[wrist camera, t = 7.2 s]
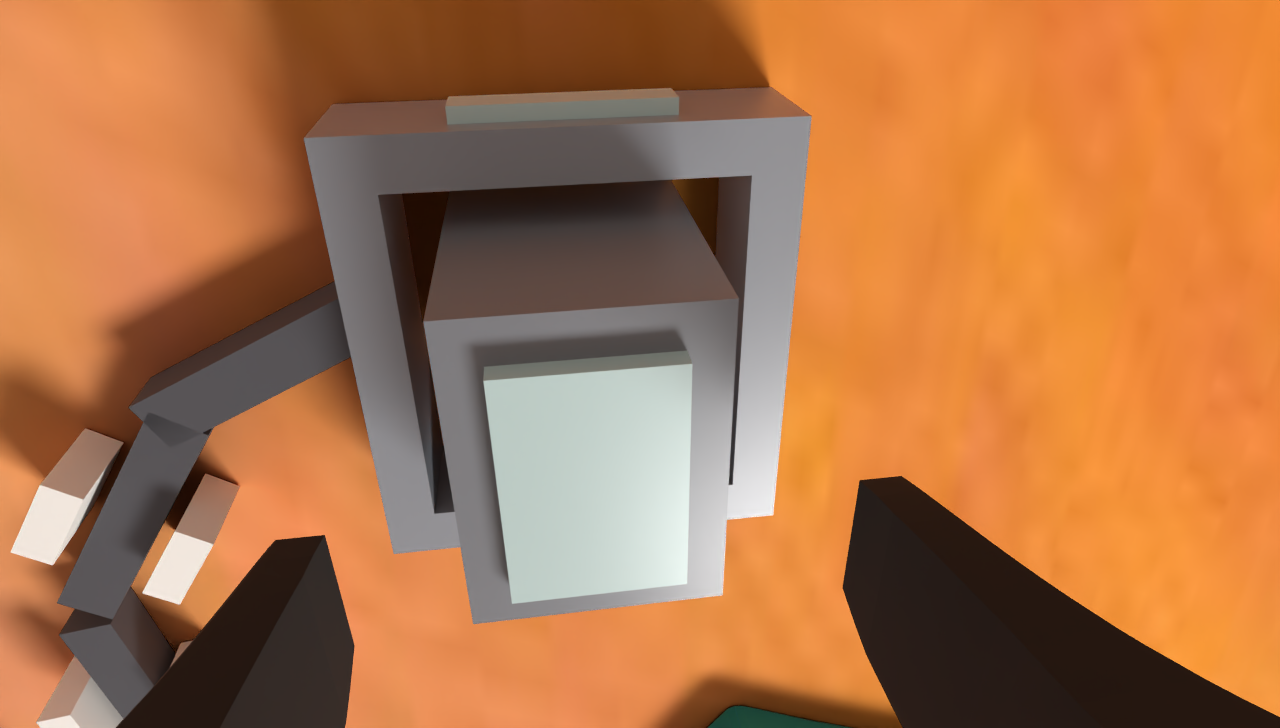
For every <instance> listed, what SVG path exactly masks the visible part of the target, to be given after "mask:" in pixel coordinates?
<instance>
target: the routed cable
mask: <svg viewBox="0 0 1280 728" xmlns="http://www.w3.org/2000/svg"><path fill="white" fill-rule="evenodd" d="M350 357H351V354H350V350H349V345H348V340H347V336H346V331H345V327H344V322H343V317H342V313H341V308H340V304H339V299H338V294H337V290H336V285H335V281H334V282H332V283H330V284H328V285H327V286H325V287H323V288H321V289H319V290H317V291H315V292H313V293H311V294H309V295H307V296H306V297H304V298H302V299H300V300H298V301H296V302H294V303H292V304H290V305H288V306H286V307H285V308H283V309H281V310H279V311H277V312H275V313H273V314H271V315H269V316H267V317H265V318H264V319H262V320H260V321H258V322H256V323H254V324H252V325H250V326H248V327H246V328H244V329H242V330H241V331H239V332H237V333H235V334H233V335H231V336H229V337H227V338H225V339H223V340H221V341H220V342H218V343H216V344H214V345H212V346H210V347H208V348H206V349H204V350H202V351H200V352H199V353H197V354H195V355H193V356H191V357H189V358H187V359H185V360H183V361H181V362H179V363H178V364H176V365H174V366H172V367H170V368H168V369H166V370H164V371H162V372H160V373H158V374H157V375H155V376H153V377H151V378H150V379H149V381H148V382H147V383H146V385H145V386H144V387H143V389H142V390H141V391H140V393H139V394H138V395H137V397H136V398H135V399H134V401H133V402H132V403H131V405H130V406H129V409H130V410H131V411H132V412H133V413H134V414H135V415H137V416H138V417H139V418H140V419H141V420H142V421H143V424H142V426H141V429H140V431H139V433H138V435H137V437H136V439H135V441H134V443H133V445H132V447H131V449H130V452H129V454H128V456H127V458H126V460H125V462H124V464H123V466H122V468H121V470H120V472H119V474H118V477H117V479H116V481H115V483H114V485H113V487H112V489H111V491H110V493H109V495H108V497H107V500H106V502H105V504H104V506H103V508H102V510H101V512H100V514H99V516H98V518H97V520H96V523H95V525H94V527H93V529H92V531H91V533H90V535H89V537H88V539H87V541H86V543H85V545H84V548H83V550H82V552H81V554H80V556H79V558H78V560H77V562H76V564H75V566H74V568H73V571H72V573H71V575H70V577H69V579H68V581H67V583H66V585H65V587H64V589H63V591H62V593H61V596H60V598H59V600H58V602H57V603H58V604H61V605H65V606H68V607H71V608H75V609H74V611H73V613H72V614H71V616H70V618H69V619H68V621H67V623H66V624H65V626H64V628H63V629H62V631H61V632H60V634H59V636H60V637H61V638H62V640H63V641H64V642H65V644H66V645H67V646H68V647H69V649H70V650H71V651H72V653H73V654H74V657H73V659H72V661H71V662H70V664H69V666H68V668H67V669H66V671H65V673H64V675H63V676H62V678H61V680H60V682H59V683H58V685H57V687H56V689H55V690H54V692H53V694H52V696H51V697H50V699H49V701H48V703H47V704H46V706H45V708H44V710H43V711H42V713H41V715H40V717H39V718H38V720H37V722H36V723H37V724H38V725H39V726H40V728H116V727H117V726H118V724H119V723H120V722H121V721H122V720H123V719H124V718H125V717H126V716H127V715H128V714H129V713H130V712H131V710H132V709H133V708H134V707H135V706H136V705H137V704H138V703H139V702H140V701H141V700H142V699H143V697H144V696H145V695H146V694H147V693H148V692H149V691H150V690H151V689H152V688H153V686H154V685H155V684H156V683H157V682H158V681H159V680H160V678H161V677H162V676H163V675H164V674H165V673H166V671H167V670H168V669H169V668H170V667H171V666H172V664H173V663H174V662H175V661H176V660H177V658H178V657H179V656H180V655H181V654H182V653H183V651H184V650H185V649H186V648H187V647H188V646H189V644H190V643H191V642H192V641H193V640H192V641H188V642H183V643H180V646H179V648H178V650H177V653H176V654H175V652H174V651H173V649H172V648H171V646H170V645H169V643H168V642H167V640H166V639H165V638H164V636H163V635H162V633H161V632H160V630H159V629H158V627H157V626H156V624H155V623H154V621H153V620H152V618H151V617H150V615H149V614H148V612H147V611H146V609H145V608H144V606H143V605H142V603H141V602H140V600H139V599H138V597H137V596H136V594H135V593H134V591H133V590H132V588H131V585H132V583H133V581H134V579H135V577H136V575H137V573H138V572H139V570H140V568H141V566H142V564H143V562H144V560H145V558H146V556H147V554H148V552H149V550H150V549H151V547H152V545H153V543H154V541H155V539H156V537H157V535H158V533H159V531H160V529H161V527H162V526H163V524H164V522H165V520H166V518H167V516H168V514H169V512H170V510H171V508H172V506H173V504H174V503H175V501H176V499H177V497H178V495H179V493H180V491H181V489H182V487H183V485H184V483H185V481H186V480H187V478H188V476H189V474H190V472H191V470H192V468H193V466H194V464H195V462H196V460H197V458H198V457H199V455H200V453H201V451H202V449H203V447H204V445H205V443H206V441H207V439H208V437H209V435H210V434H211V432H212V430H213V428H214V427H215V426H217V425H219V424H221V423H223V422H225V421H227V420H229V419H231V418H233V417H234V416H236V415H238V414H240V413H242V412H244V411H246V410H248V409H250V408H252V407H254V406H256V405H258V404H260V403H262V402H264V401H266V400H268V399H270V398H272V397H274V396H276V395H278V394H280V393H281V392H283V391H285V390H287V389H289V388H291V387H293V386H295V385H297V384H299V383H301V382H303V381H305V380H307V379H309V378H311V377H313V376H315V375H317V374H319V373H321V372H323V371H325V370H327V369H329V368H330V367H332V366H334V365H336V364H338V363H340V362H342V361H344V360H346V359H348V358H350ZM123 443H124V442H121V441H118V440H116V439H113V438H110V437H108V436H105V435H102V434H99V433H97V432H94V431H91V430H89V429H86V428H85V429H84V430H83V431H82V433H81V434H80V435H79V436H78V438H77V439H76V440H75V441H74V443H73V444H72V445H71V447H70V448H69V449H68V450H67V452H66V453H65V454H64V455H63V457H62V458H61V459H60V460H59V462H58V463H57V464H56V465H55V467H54V468H53V469H52V470H51V472H50V473H49V474H48V475H47V477H46V478H45V479H44V480H43V482H42V483H41V484H40V486H39V488H38V490H37V493H36V495H35V497H34V500H33V502H32V504H31V507H30V509H29V511H28V513H27V516H26V518H25V520H24V523H23V525H22V527H21V530H20V532H19V534H18V537H17V539H16V541H15V543H14V546H13V548H12V550H11V553H14V554H17V555H21V556H24V557H27V558H30V559H34V560H37V561H40V562H43V563H47V564H50V565H53V564H54V563H55V561H56V560H57V558H58V557H59V556H60V554H61V553H62V551H63V550H64V548H65V547H66V545H67V544H68V542H69V541H70V539H71V538H72V536H73V535H74V534H75V532H76V531H77V529H78V528H79V526H80V525H81V523H82V522H83V520H84V519H85V517H86V516H87V514H88V513H89V512H90V510H91V509H92V507H93V506H94V504H95V502H96V500H97V498H98V496H99V494H100V491H101V489H102V487H103V485H104V483H105V481H106V479H107V477H108V475H109V472H110V470H111V468H112V466H113V464H114V462H115V460H116V458H117V456H118V453H119V451H120V449H121V447H122V445H123ZM239 487H240V486H238V485H235V484H233V483H230V482H227V481H225V480H222V479H219V478H216V477H214V476H211V475H208V474H206V473H205V475H204V477H203V479H202V481H201V483H200V485H199V487H198V488H197V490H196V492H195V494H194V496H193V498H192V500H191V502H190V503H189V505H188V507H187V509H186V511H185V513H184V515H183V517H182V518H181V520H180V522H179V524H178V526H177V528H176V530H175V532H174V534H173V535H172V537H171V539H170V541H169V543H168V545H167V547H166V549H165V551H164V553H163V554H162V556H161V558H160V560H159V562H158V564H157V566H156V568H155V570H154V572H153V573H152V575H151V577H150V579H149V581H148V583H147V585H146V587H145V589H144V591H143V592H142V593H143V594H146V595H149V596H153V597H156V598H159V599H162V600H166V601H169V602H172V603H175V604H179V605H180V603H181V602H182V600H183V598H184V596H185V595H186V593H187V591H188V589H189V587H190V586H191V584H192V582H193V580H194V578H195V577H196V575H197V573H198V571H199V570H200V568H201V566H202V564H203V562H204V561H205V559H206V557H207V555H208V553H209V552H210V550H211V548H212V546H213V545H214V542H215V540H216V538H217V536H218V534H219V531H220V529H221V527H222V525H223V523H224V520H225V518H226V516H227V514H228V512H229V509H230V507H231V505H232V503H233V501H234V498H235V496H236V494H237V492H238V490H239Z"/></svg>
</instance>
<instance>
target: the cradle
mask: <svg viewBox="0 0 1280 728" xmlns="http://www.w3.org/2000/svg"><path fill="white" fill-rule="evenodd" d="M810 127H811V115H809V114H808V113H807V112H805V111H804V110H802V109H801V108H800V107H798V106H797V105H796V104H794V103H793V102H791V101H790V100H789V99H787V98H786V97H784V96H783V95H782V94H780V93H779V92H778V91H776V90H775V89H773V88H772V87H759V88H733V89H707V90H682V91H673V89H672V88H655V89H628V90H602V91H576V92H550V93H524V94H497V95H471V96H448V99H447V100H423V101H397V102H371V103H345V104H332V105H331V106H330V108H329V109H328V110H327V111H326V112H325V113H324V115H323V116H322V117H321V118H320V119H319V120H318V122H317V123H316V124H315V125H314V126H313V127H312V129H311V130H310V131H309V132H308V133H307V135H306V136H305V137H304V142H305V147H306V151H307V156H308V161H309V165H310V170H311V174H312V179H313V184H314V188H315V193H316V198H317V202H318V207H319V211H320V216H321V221H322V225H323V230H324V234H325V239H326V244H327V248H328V253H329V257H330V262H331V267H332V271H333V276H334V280H335V285H336V290H337V294H338V299H339V304H340V308H341V313H342V317H343V322H344V327H345V331H346V336H347V340H348V345H349V350H350V354H351V359H352V363H353V368H354V373H355V377H356V382H357V386H358V391H359V396H360V400H361V405H362V410H363V414H364V419H365V423H366V428H367V433H368V437H369V442H370V446H371V451H372V456H373V460H374V465H375V469H376V474H377V479H378V483H379V488H380V493H381V497H382V502H383V506H384V511H385V516H386V520H387V525H388V529H389V534H390V539H391V543H392V548H393V552H394V554H398V553H407V552H417V551H427V550H437V549H446V548H456V547H460V541H459V535H458V529H457V523H456V517H455V511H454V504H453V498H452V492H451V486H450V480H449V474H448V468H447V462H446V456H445V450H444V445H442V439H441V432H440V426H439V420H438V414H437V408H436V401H435V395H434V389H433V383H432V377H431V370H430V364H429V358H428V352H427V346H426V340H425V333H424V327H423V321H422V315H421V309H420V302H419V296H418V290H417V284H416V278H415V271H414V265H413V259H412V253H411V247H410V241H409V234H408V228H407V222H406V216H405V210H404V203H403V197H402V193H422V192H441V191H460V190H480V189H499V188H518V187H538V186H557V185H576V184H596V183H615V182H634V181H654V180H673V179H693V178H712V177H719V186H718V210H717V234H716V259H717V261H718V263H719V265H720V266H721V268H722V270H723V272H724V273H725V275H726V277H727V279H728V280H729V282H730V284H731V286H732V287H733V289H734V291H735V293H736V294H737V296H738V298H739V306H738V324H737V342H736V360H735V379H734V397H733V415H732V433H731V451H730V469H729V488H728V506H727V520H729V519H739V518H749V517H758V516H768V515H773V510H774V500H775V490H776V479H777V469H778V458H779V448H780V438H781V427H782V417H783V407H784V396H785V386H786V376H787V365H788V355H789V344H790V334H791V324H792V313H793V303H794V293H795V282H796V272H797V262H798V251H799V241H800V230H801V220H802V210H803V199H804V189H805V179H806V168H807V158H808V147H809V137H810Z"/></svg>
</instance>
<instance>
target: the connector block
mask: <svg viewBox="0 0 1280 728" xmlns="http://www.w3.org/2000/svg"><path fill="white" fill-rule="evenodd" d="M738 306H739V298H738V296H737V294H736V293H735V291H734V289H733V287H732V286H731V284H730V282H729V280H728V279H727V277H726V275H725V273H724V272H723V270H722V268H721V266H720V265H719V263H718V261H717V259H716V258H715V256H714V254H713V252H712V251H711V249H710V247H709V245H708V244H707V242H706V240H705V238H704V237H703V235H702V233H701V231H700V230H699V228H698V226H697V224H696V223H695V221H694V219H693V218H692V216H691V214H690V212H689V211H688V209H687V207H686V205H685V204H684V202H683V200H682V198H681V197H680V195H679V193H678V191H677V190H676V188H675V186H674V184H673V183H672V181H671V180H654V181H634V182H615V183H596V184H576V185H557V186H538V187H518V188H499V189H480V190H460V191H449V196H448V201H447V206H446V211H445V216H444V221H443V226H442V231H441V236H440V241H439V246H438V251H437V256H436V261H435V265H434V270H433V275H432V280H431V285H430V290H429V295H428V300H427V305H426V310H425V315H424V320H423V323H424V329H425V335H426V341H427V347H428V353H429V359H430V365H431V371H432V377H433V384H434V390H435V396H436V402H437V408H438V414H439V420H440V426H441V432H442V438H443V444H444V450H445V456H446V462H447V468H448V474H449V480H450V486H451V492H452V498H453V504H454V511H455V517H456V523H457V529H458V535H459V541H460V547H461V553H462V559H463V565H464V571H465V577H466V583H467V589H468V595H469V601H470V607H471V613H472V619H473V624H479V623H487V622H496V621H504V620H513V619H522V618H530V617H539V616H548V615H556V614H565V613H573V612H582V611H591V610H599V609H608V608H617V607H625V606H634V605H642V604H651V603H660V602H668V601H677V600H686V599H694V598H703V597H711V596H720V595H723V579H724V560H725V542H726V524H727V506H728V488H729V469H730V451H731V433H732V415H733V397H734V379H735V360H736V342H737V324H738Z"/></svg>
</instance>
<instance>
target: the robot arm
mask: <svg viewBox="0 0 1280 728" xmlns="http://www.w3.org/2000/svg"><path fill="white" fill-rule="evenodd" d="M843 590H844V593H845V596H846V599H847V602H848V605H849V608H850V611H851V614H852V617H853V620H854V623H855V625H856V628H857V631H858V633H859V636H860V639H861V642H862V644H863V647H864V650H865V652H866V655H867V657H868V659H869V661H870V663H871V665H872V667H873V669H874V671H875V673H876V675H877V677H878V679H879V681H880V683H881V685H882V687H883V689H884V691H885V693H886V695H887V697H888V699H889V701H890V704H891V706H892V708H893V709H894V711H895V713H896V715H897V717H898V719H899V721H900V723H901V725H902V727H903V728H1280V717H1278V716H1276V715H1274V714H1272V713H1270V712H1268V711H1266V710H1264V709H1262V708H1260V707H1258V706H1256V705H1254V704H1252V703H1250V702H1248V701H1246V700H1244V699H1242V698H1240V697H1238V696H1236V695H1234V694H1232V693H1231V692H1229V691H1227V690H1225V689H1223V688H1221V687H1219V686H1217V685H1215V684H1213V683H1211V682H1210V681H1208V680H1206V679H1204V678H1202V677H1200V676H1199V675H1197V674H1195V673H1193V672H1192V671H1190V670H1188V669H1186V668H1185V667H1183V666H1181V665H1179V664H1178V663H1176V662H1174V661H1172V660H1171V659H1169V658H1167V657H1165V656H1163V655H1162V654H1160V653H1158V652H1156V651H1155V650H1153V649H1151V648H1149V647H1148V646H1146V645H1144V644H1143V643H1141V642H1139V641H1138V640H1136V639H1134V638H1133V637H1131V636H1129V635H1128V634H1126V633H1124V632H1123V631H1121V630H1119V629H1118V628H1116V627H1115V626H1113V625H1111V624H1110V623H1108V622H1107V621H1105V620H1104V619H1102V618H1101V617H1099V616H1098V615H1096V614H1094V613H1093V612H1091V611H1090V610H1088V609H1087V608H1085V607H1084V606H1082V605H1081V604H1079V603H1078V602H1076V601H1074V600H1073V599H1071V598H1070V597H1068V596H1067V595H1065V594H1064V593H1062V592H1061V591H1059V590H1058V589H1056V588H1055V587H1054V586H1052V585H1051V584H1049V583H1048V582H1046V581H1045V580H1043V579H1042V578H1040V577H1039V576H1038V575H1036V574H1035V573H1033V572H1032V571H1030V570H1029V569H1028V568H1026V567H1025V566H1023V565H1022V564H1021V563H1019V562H1018V561H1016V560H1015V559H1014V558H1012V557H1011V556H1009V555H1008V554H1007V553H1005V552H1004V551H1003V550H1001V549H1000V548H998V547H997V546H996V545H994V544H993V543H992V542H990V541H989V540H988V539H986V538H985V537H983V536H982V535H981V534H979V533H978V532H977V531H975V530H974V529H973V528H971V527H970V526H969V525H967V524H966V523H965V522H963V521H962V520H961V519H959V518H958V517H957V516H955V515H954V514H953V513H951V512H950V511H949V510H947V509H946V508H945V507H943V506H942V505H941V504H939V503H938V502H937V501H935V500H934V499H933V498H931V497H930V496H929V495H927V494H926V493H925V492H923V491H922V490H920V489H919V488H918V487H916V486H915V485H913V484H912V483H911V482H909V481H908V480H906V479H905V478H903V477H902V476H898V477H888V478H878V479H868V480H860V482H859V488H858V495H857V501H856V507H855V513H854V520H853V526H852V532H851V538H850V545H849V551H848V557H847V563H846V570H845V576H844V582H843ZM353 655H354V642H353V639H352V635H351V631H350V627H349V624H348V620H347V616H346V613H345V609H344V605H343V601H342V598H341V594H340V590H339V586H338V583H337V579H336V575H335V572H334V568H333V564H332V560H331V557H330V553H329V549H328V545H327V542H326V538H325V535H321V536H311V537H301V538H292V539H282V540H275V541H274V542H273V543H272V545H271V546H270V547H269V548H268V549H267V550H266V551H265V553H264V554H263V555H262V556H261V558H260V559H259V560H258V561H257V562H256V564H255V565H254V566H253V567H252V569H251V570H250V571H249V572H248V574H247V575H246V576H245V577H244V579H243V580H242V581H241V582H240V584H239V585H238V586H237V587H236V589H235V590H234V591H233V592H232V594H231V595H230V596H229V597H228V598H227V600H226V601H225V602H224V603H223V605H222V606H221V607H220V608H219V610H218V611H217V612H216V613H215V614H214V616H213V617H212V618H211V619H210V621H209V622H208V623H207V624H206V625H205V627H204V628H203V629H202V630H201V631H200V633H199V634H198V635H197V636H196V637H195V639H194V640H193V641H192V642H191V643H190V644H189V646H188V647H187V648H186V649H185V650H184V651H183V653H182V654H181V655H180V656H179V657H178V658H177V660H176V661H175V662H174V663H173V664H172V666H171V667H170V668H169V669H168V670H167V671H166V673H165V674H164V675H163V676H162V677H161V678H160V680H159V681H158V682H157V683H156V684H155V685H154V686H153V688H152V689H151V690H150V691H149V692H148V693H147V694H146V695H145V696H144V697H143V699H142V700H141V701H140V702H139V703H138V704H137V705H136V706H135V707H134V708H133V709H132V710H131V712H130V713H129V714H128V715H127V716H126V717H125V718H124V719H123V720H122V721H121V722H120V723H119V724H118V726H117V727H116V728H345V724H346V718H347V710H348V701H349V693H350V685H351V675H352V665H353Z"/></svg>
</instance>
